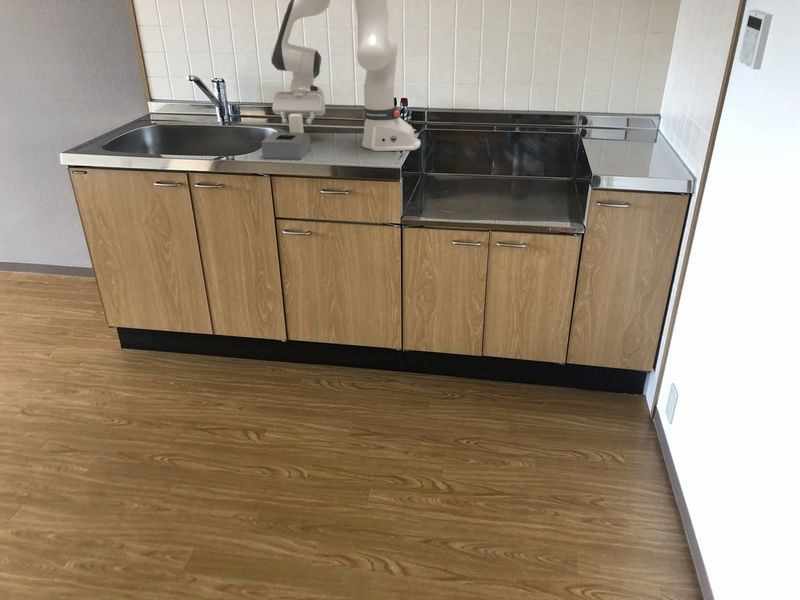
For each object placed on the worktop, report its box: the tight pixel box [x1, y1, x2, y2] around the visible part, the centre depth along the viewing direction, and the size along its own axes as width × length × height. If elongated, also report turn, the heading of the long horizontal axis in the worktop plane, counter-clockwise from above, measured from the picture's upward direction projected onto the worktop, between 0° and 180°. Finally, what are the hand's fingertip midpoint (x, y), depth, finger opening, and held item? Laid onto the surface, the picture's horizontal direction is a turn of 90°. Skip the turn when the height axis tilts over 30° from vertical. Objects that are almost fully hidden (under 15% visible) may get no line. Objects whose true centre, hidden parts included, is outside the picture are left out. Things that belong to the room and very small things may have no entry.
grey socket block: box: [260, 131, 312, 161], centre depth 245 cm, size 14×14×6 cm
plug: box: [287, 114, 305, 133], centre depth 256 cm, size 4×4×11 cm
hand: (296, 123), depth 256 cm, fingers open, 8 cm apart
